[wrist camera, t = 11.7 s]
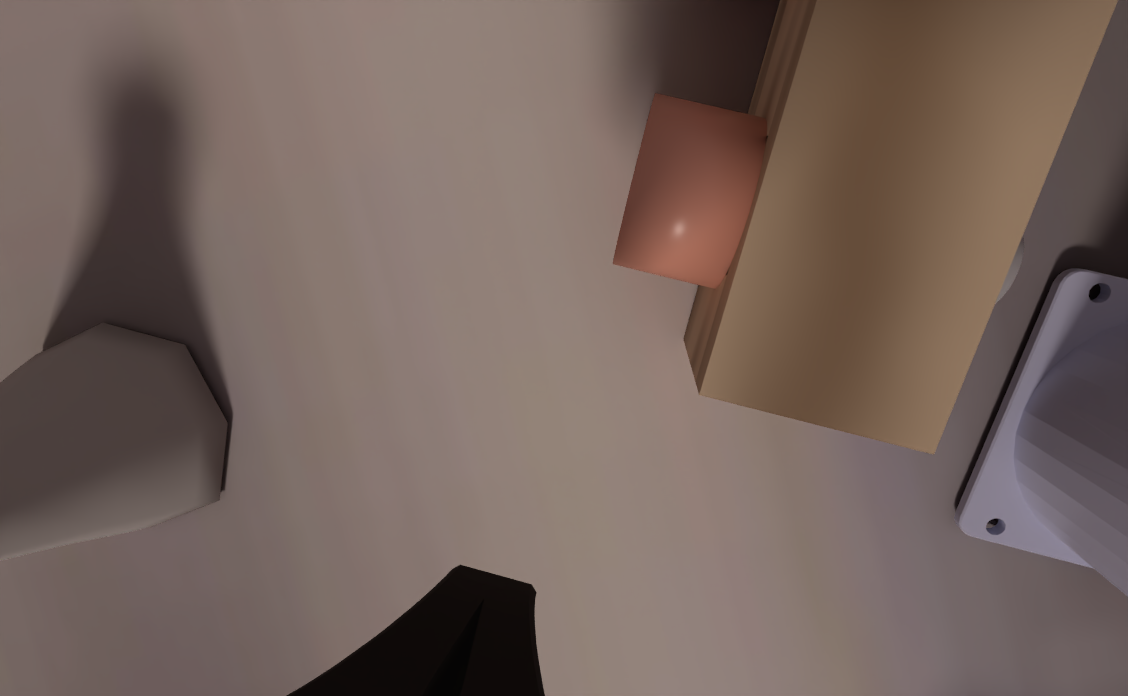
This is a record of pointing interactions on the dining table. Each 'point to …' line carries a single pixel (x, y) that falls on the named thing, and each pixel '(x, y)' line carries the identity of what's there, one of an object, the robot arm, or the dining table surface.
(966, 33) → the mount
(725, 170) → the knob
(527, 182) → the dining table surface
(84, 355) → the flask
